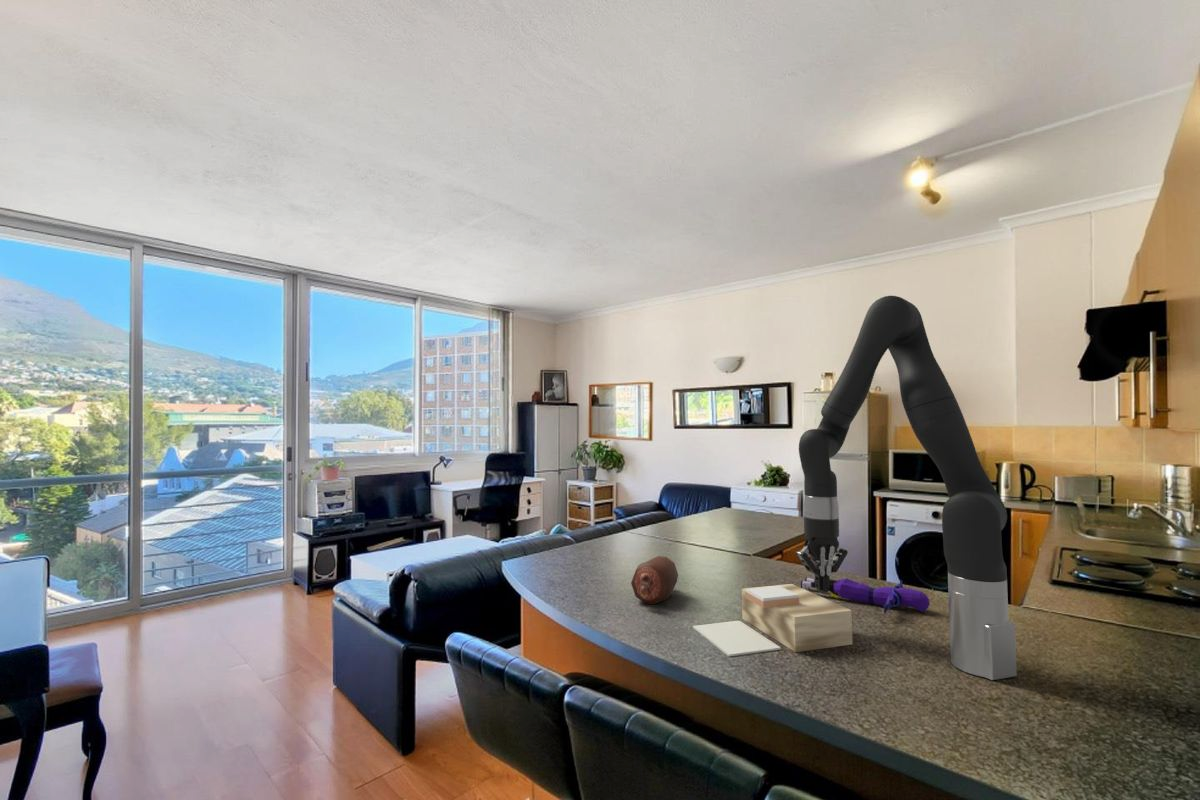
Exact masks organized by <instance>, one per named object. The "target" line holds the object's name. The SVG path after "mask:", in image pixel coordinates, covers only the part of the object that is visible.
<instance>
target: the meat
mask: <svg viewBox="0 0 1200 800" xmlns="http://www.w3.org/2000/svg"><path fill="white" fill-rule="evenodd" d="M678 578H679V573H678V569H677V567H676V564H675V562H674V561H672V560H671V559H670V558H668V557H667V556H660V555H659V556H655V557H653V558H651V559H648V560H647V561H645V562H642V563H640V564H639V565H637V567H636V569H635V572H634V574H633V577H632V579H631V582H630V584H631V587H632V590H633V592H634V596H635V598H637V599H638V600H640V601H641V602H643V603H644V604H648V603H649V605H654V604H657V603H658V604H659V603H660V602H663V601H664V600H668V599H669V597H670V596H671V595H672V594H673V591H674V589H675V587H676V585H677V583H678Z"/></svg>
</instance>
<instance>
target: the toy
mask: <svg viewBox="0 0 1200 800" xmlns="http://www.w3.org/2000/svg"><path fill="white" fill-rule="evenodd" d="M829 583H830V584H829V585H830V588H829V589H828V592H829V594H830V596H832V597H833V598H836V599H840V598H842V599H846V600H849V601H852V602H853V601H855V602H859V603H864V604H871V605H876V606H880V607H883V613H884V615H885V614H886V613H887V611H888V610H891V609H893V608H895V607H899V606H905V607H908V608H910V609H915V610H918V611H920V612H921V614H922V613H925V612H926V611H927V610H928V608H929V607H930V605H931V603H930V598H929V597H928V595H927V594H926V593H924V592H923V591H921V590H918V589H912V588H907V587H904V586H903V584H904V583H903V580H900V581H899V583H897V584H896V585H894V587H893V586H882V587H871V586H869V585H868V584H865V583H862V582H857V581H856V580H851V579H850V578H842V579H837V580H835V579H830V582H829ZM800 588H802V589H805V590H807V591H809V590H810V589H811V588H815V589H816V587H815V578H810V577H808V576H806V577H805V579H804V580H801V582H800Z"/></svg>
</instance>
